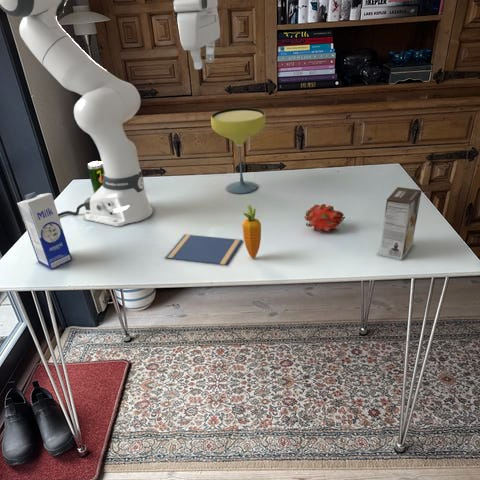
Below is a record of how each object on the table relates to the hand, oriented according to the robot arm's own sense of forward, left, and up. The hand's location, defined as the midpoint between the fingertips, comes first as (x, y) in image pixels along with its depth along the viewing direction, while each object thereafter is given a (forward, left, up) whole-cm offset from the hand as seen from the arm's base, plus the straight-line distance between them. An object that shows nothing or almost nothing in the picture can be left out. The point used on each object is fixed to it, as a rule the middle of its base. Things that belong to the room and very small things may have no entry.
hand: (204, 65), depth 120 cm
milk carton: (-40, -29, -45) cm, 67 cm away
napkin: (0, -14, -45) cm, 47 cm away
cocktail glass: (-3, +32, -45) cm, 55 cm away
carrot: (+15, -16, -45) cm, 50 cm away
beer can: (-51, +16, -45) cm, 70 cm away
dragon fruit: (+31, +5, -45) cm, 55 cm away
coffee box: (+52, -4, -45) cm, 69 cm away
